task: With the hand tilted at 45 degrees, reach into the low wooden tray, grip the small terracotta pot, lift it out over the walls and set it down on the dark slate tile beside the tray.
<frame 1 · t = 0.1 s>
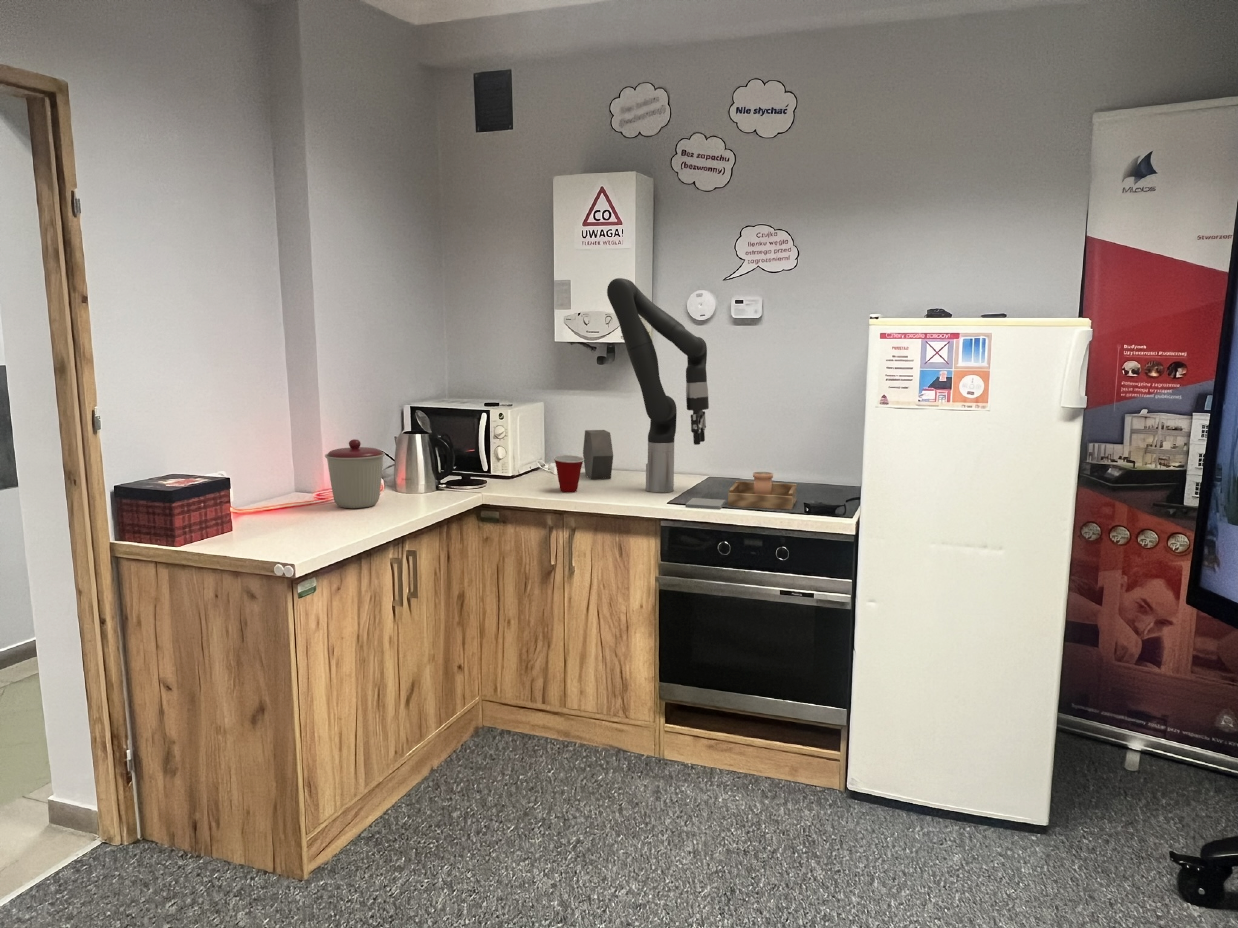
hand: (699, 443, 299), 17 cm above the worktop, tool pointing down, fingers open, 8 cm apart
plastic cup: (569, 491, 303), on the worktop
slate tile: (705, 505, 280), on the worktop
wooden tray: (762, 503, 284), on the worktop
terracotta pot: (762, 503, 283), resting in wooden tray
canister: (357, 506, 276), on the worktop
grey hexagonal block: (597, 477, 335), on the worktop
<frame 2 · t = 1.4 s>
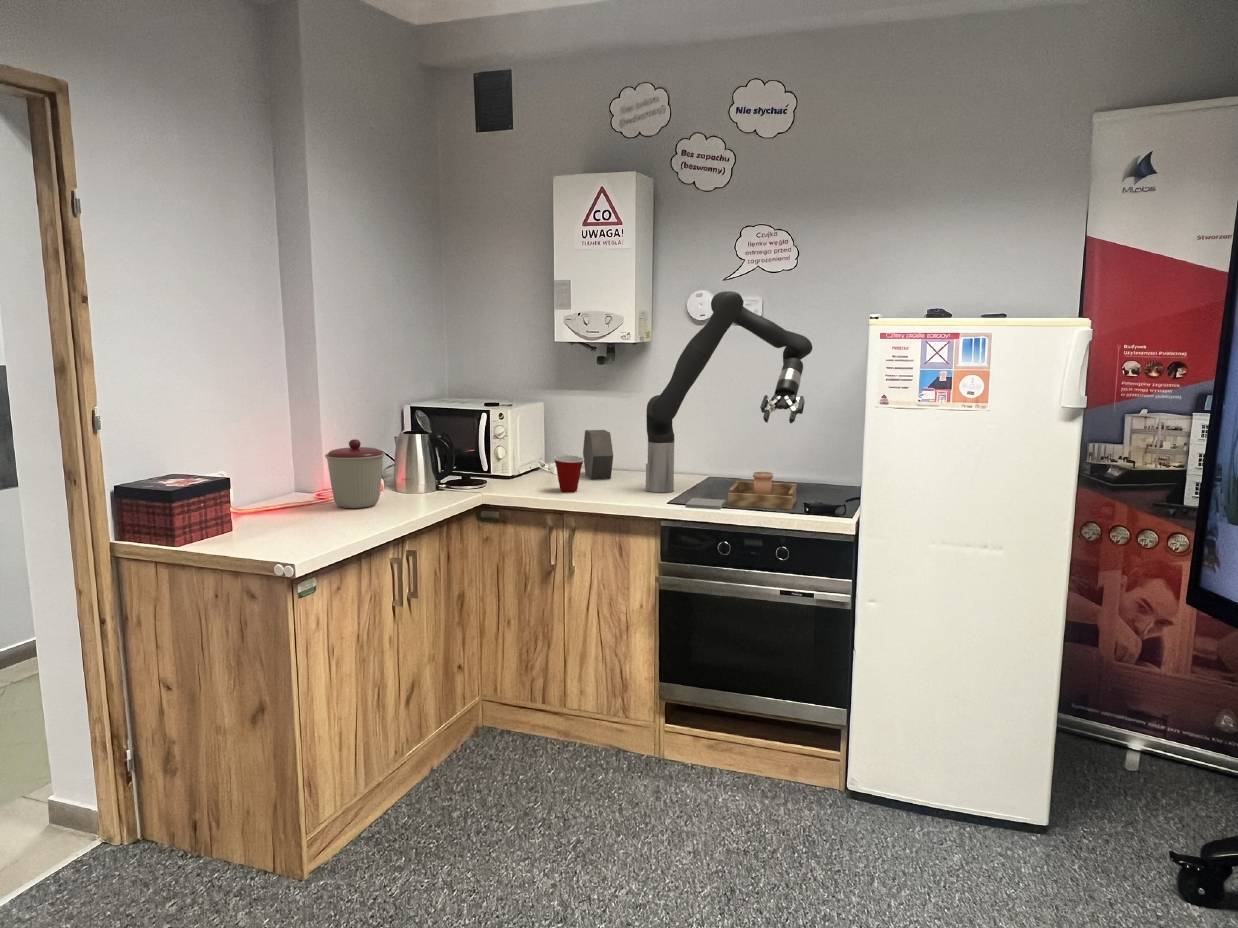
hand: (778, 421, 293), 25 cm above the worktop, tool tilted 45°, fingers open, 8 cm apart
nothing on the worktop moved.
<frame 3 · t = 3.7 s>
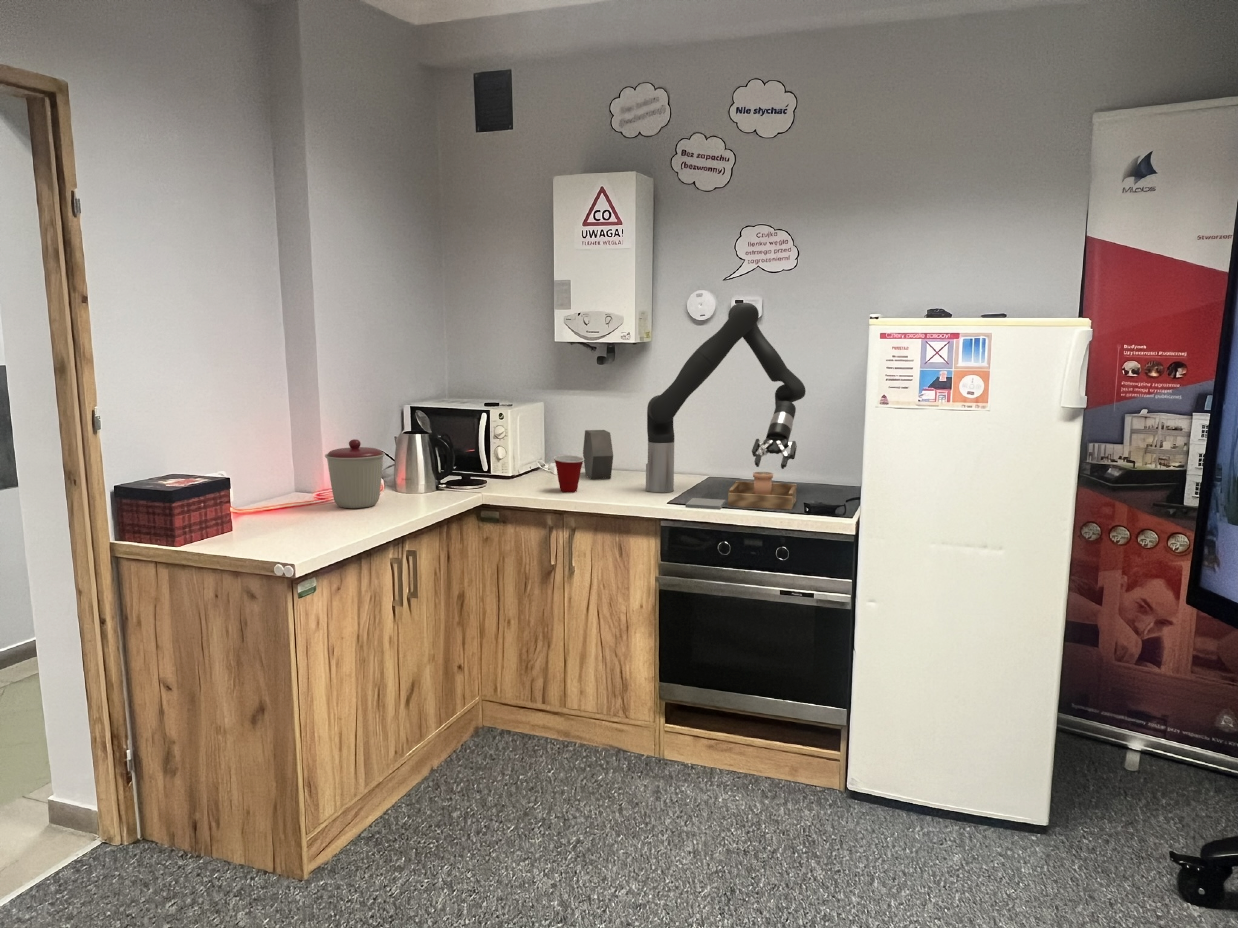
hand: (769, 466, 287), 11 cm above the worktop, tool tilted 45°, fingers open, 8 cm apart
nothing on the worktop moved.
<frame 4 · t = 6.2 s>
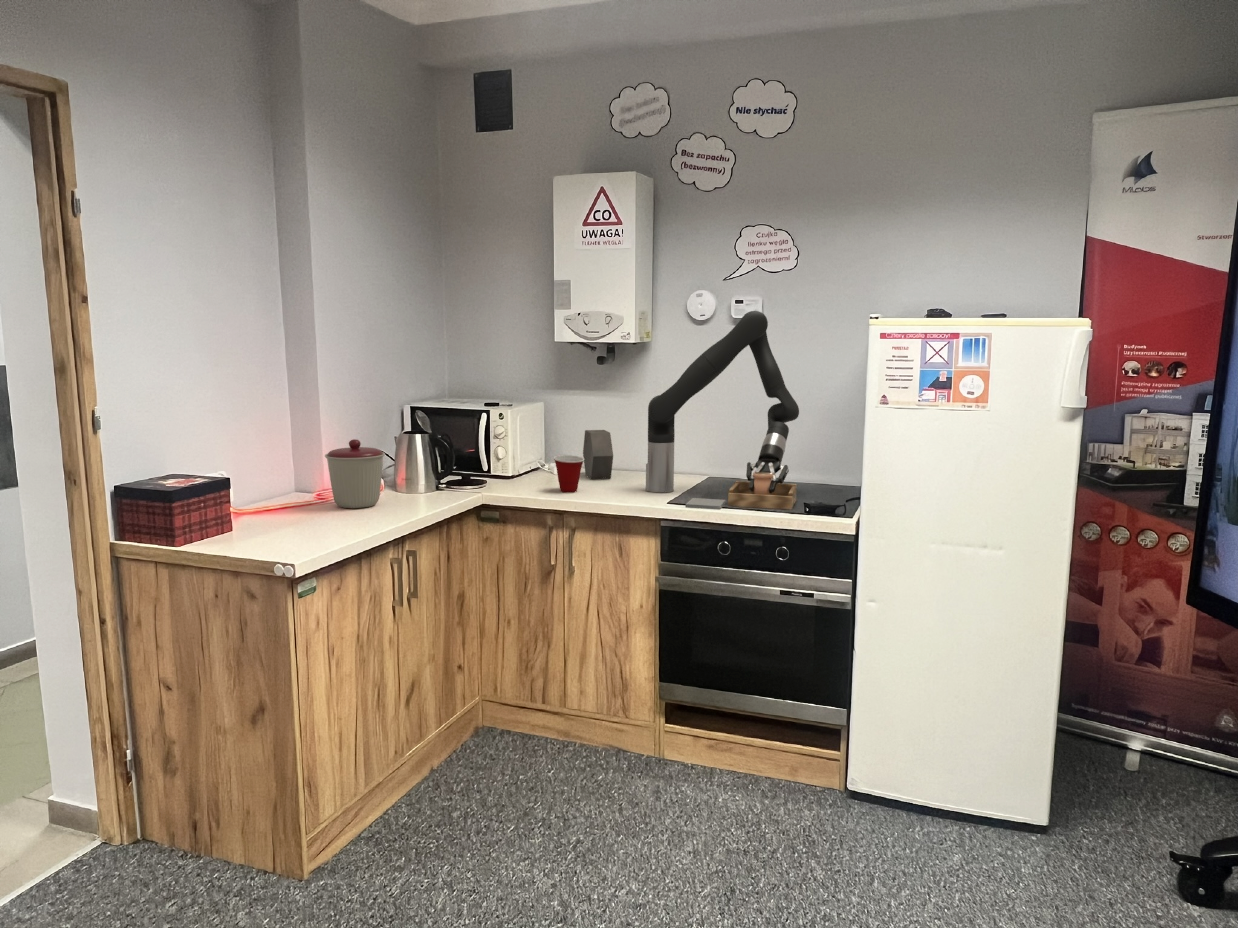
hand: (761, 490, 281), 4 cm above the worktop, tool tilted 45°, fingers closed on terracotta pot, 5 cm apart
terracotta pot: (762, 503, 283), resting in wooden tray, touching gripper
everything else where it was.
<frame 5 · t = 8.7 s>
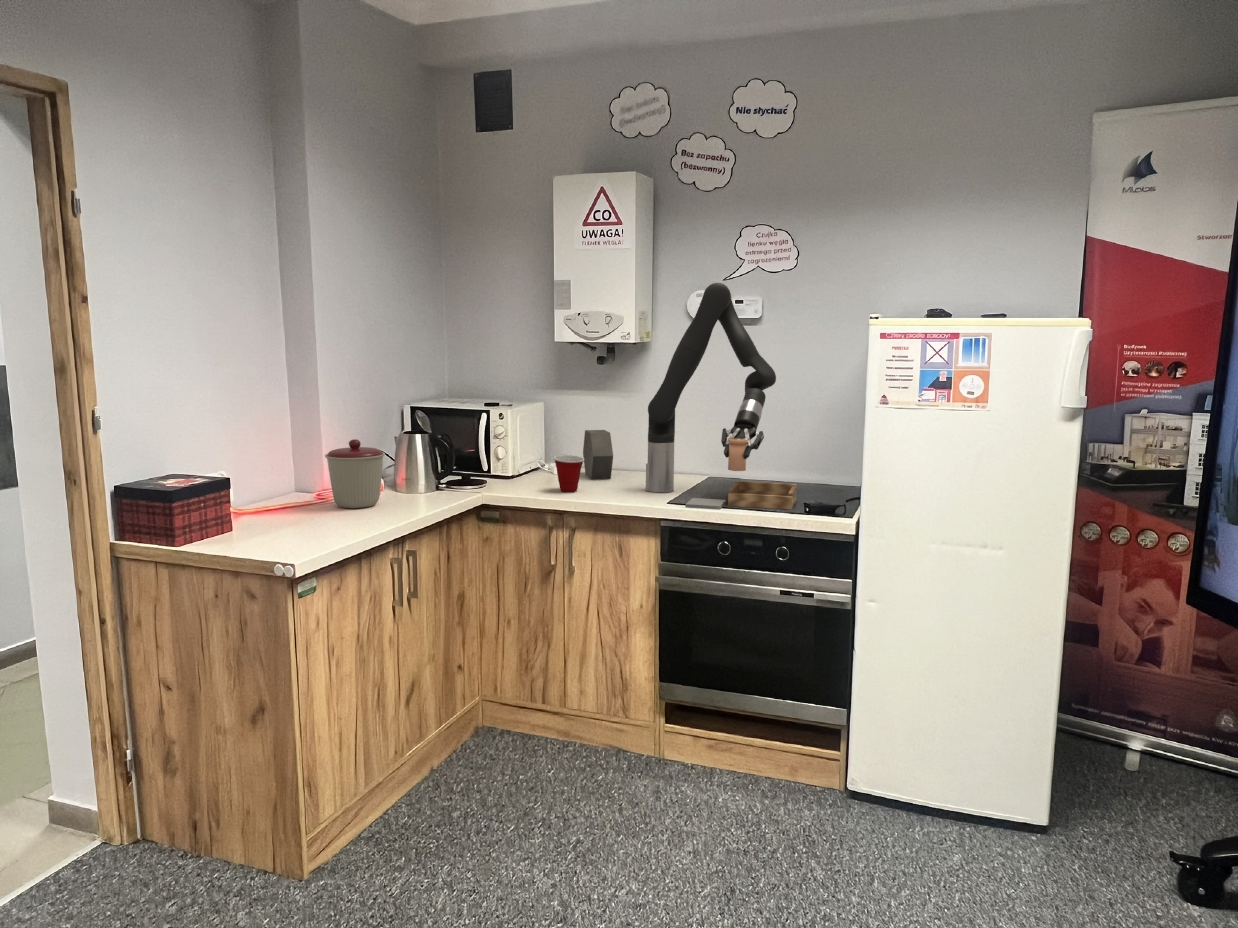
hand: (735, 456, 278), 16 cm above the worktop, tool tilted 45°, fingers closed on terracotta pot, 5 cm apart
terracotta pot: (736, 469, 280), point 11 cm above the worktop, touching gripper
everything else where it was.
when the fingers open (7 cm above the worktop, at t = 11.6 s): terracotta pot drops 1 cm, resting on slate tile.
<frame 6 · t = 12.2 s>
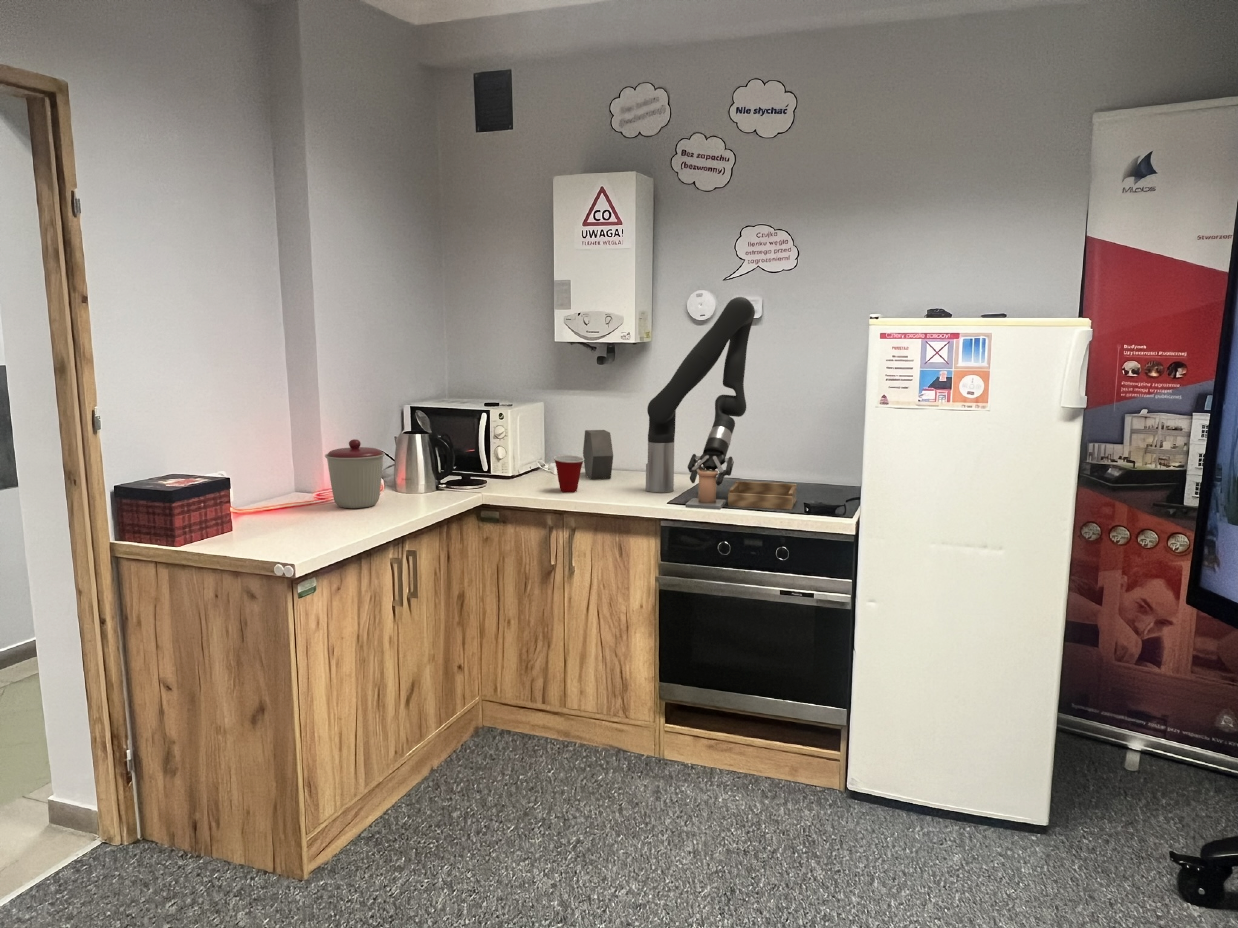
hand: (704, 483, 278), 7 cm above the worktop, tool tilted 45°, fingers open, 8 cm apart
terracotta pot: (707, 501, 280), point 1 cm above the worktop, touching slate tile
everything else where it was.
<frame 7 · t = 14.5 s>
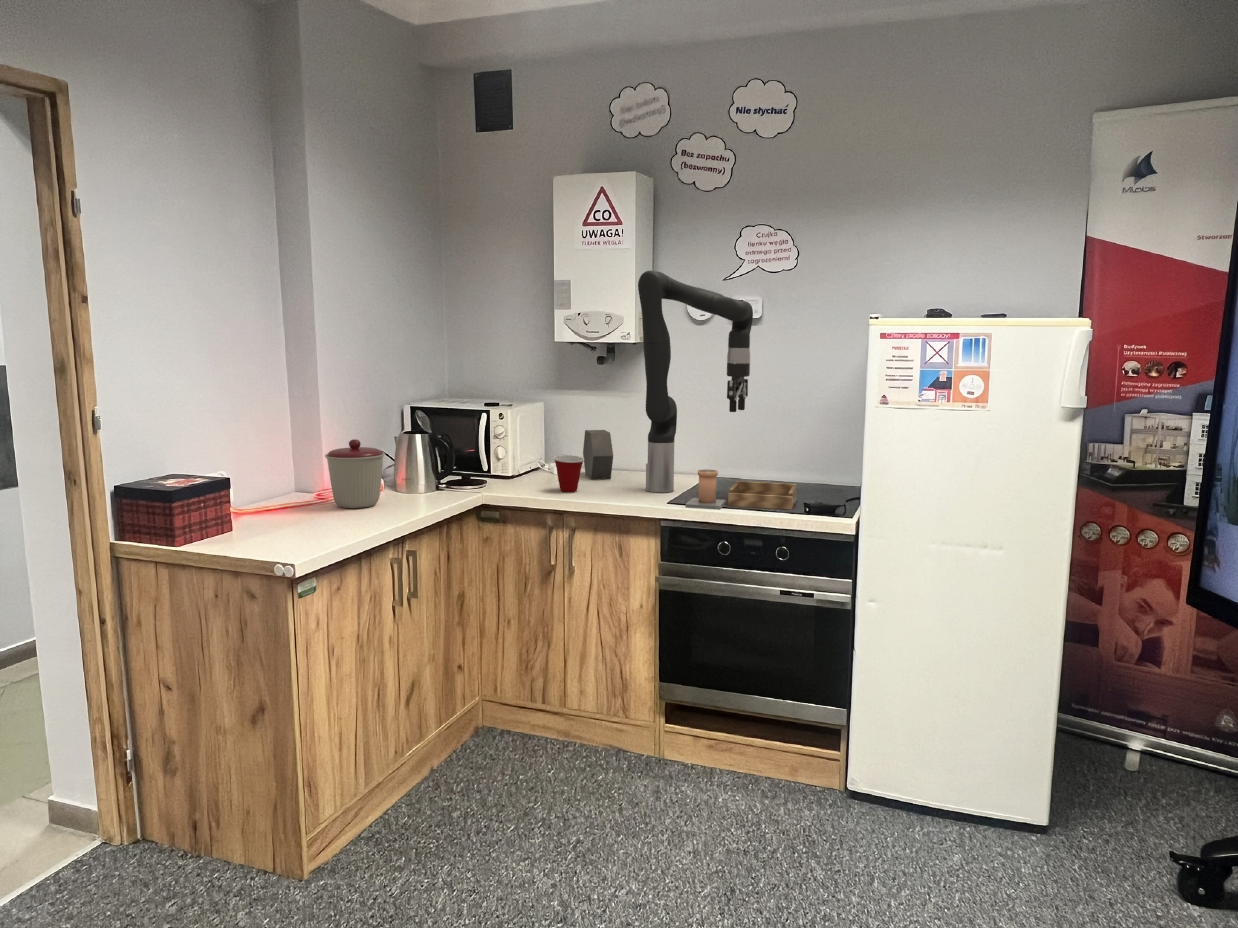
hand: (737, 411, 290), 29 cm above the worktop, tool pointing down, fingers open, 8 cm apart
nothing on the worktop moved.
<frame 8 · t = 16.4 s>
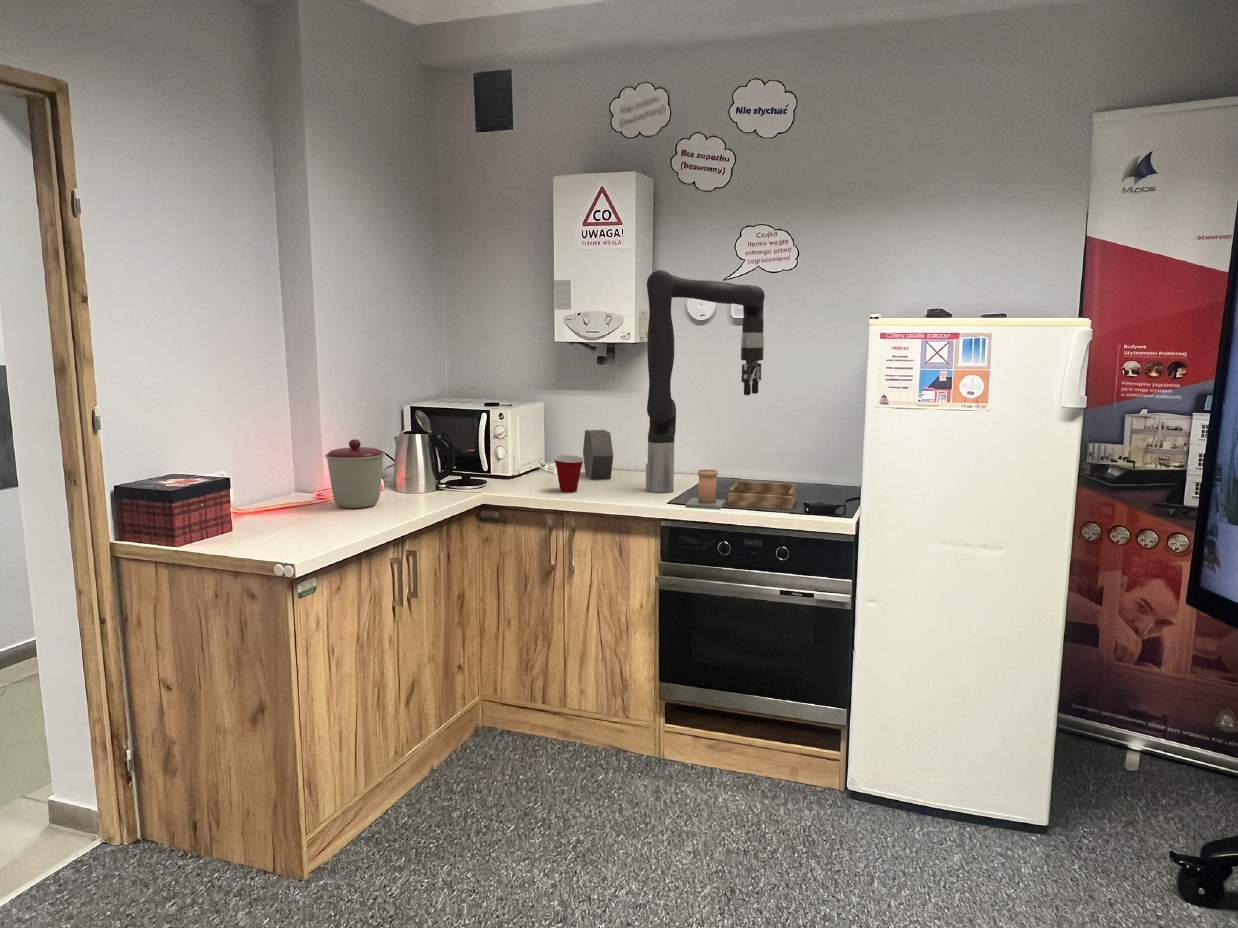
hand: (751, 394, 297), 34 cm above the worktop, tool pointing down, fingers open, 8 cm apart
nothing on the worktop moved.
at the end: terracotta pot inside the target area on the slate tile (0.8 cm from its centre), point 1.0 cm above the slate tile's base; terracotta pot tilted 0°; the gripper is holding nothing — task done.
